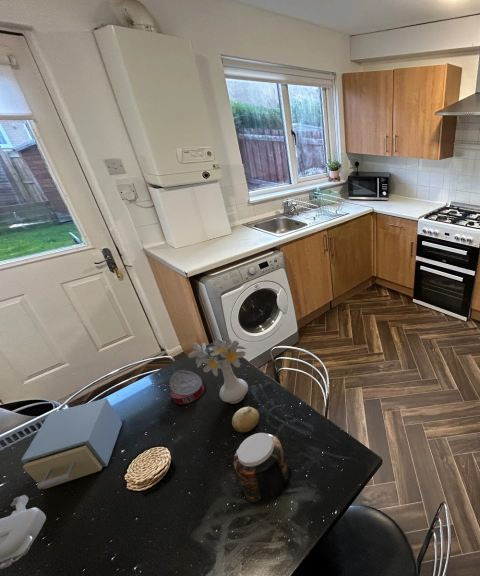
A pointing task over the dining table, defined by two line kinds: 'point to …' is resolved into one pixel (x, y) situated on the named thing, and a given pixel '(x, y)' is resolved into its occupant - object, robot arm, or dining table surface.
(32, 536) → the robot arm
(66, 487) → the dining table surface
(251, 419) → the yellow-brown oval lump
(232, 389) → the flower vase
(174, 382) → the canned food
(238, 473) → the jar
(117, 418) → the drawer casing
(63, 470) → the beige drawer
